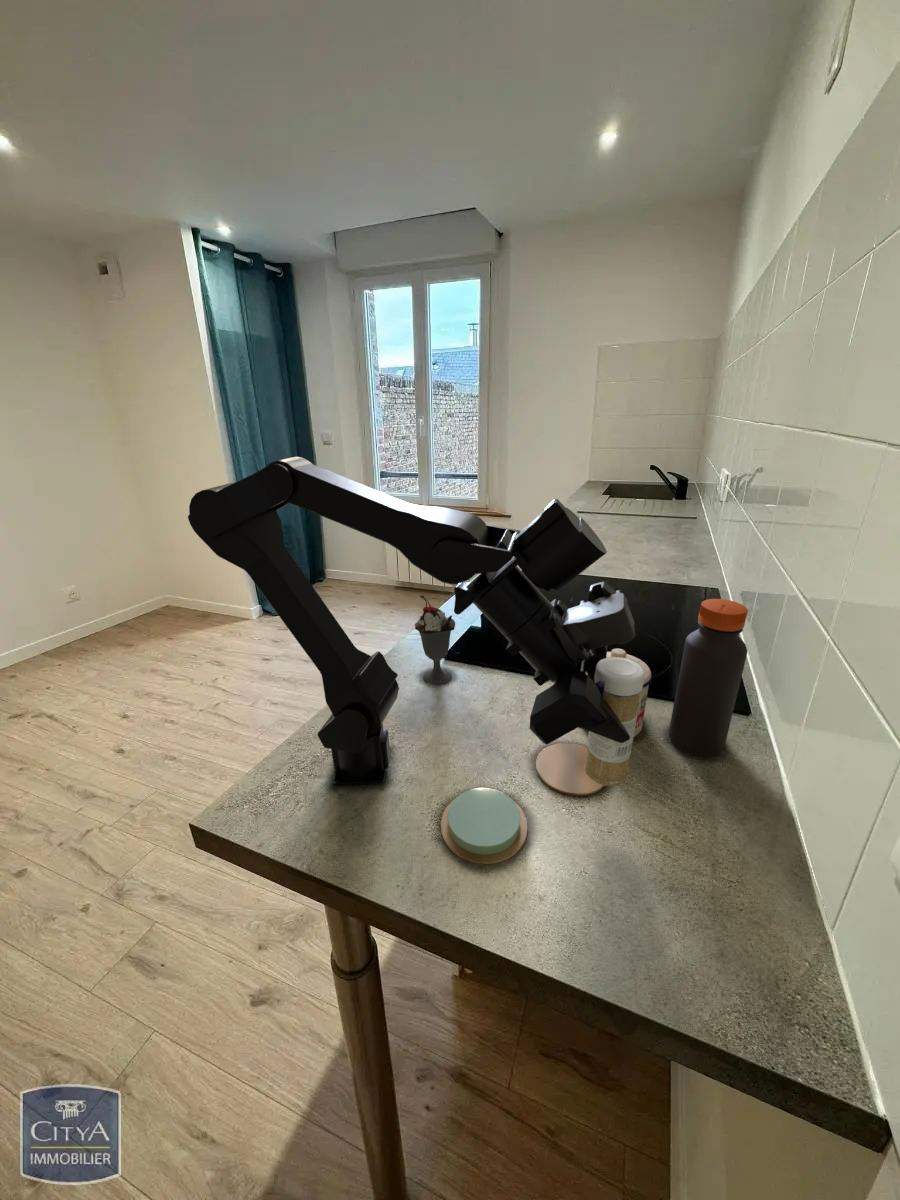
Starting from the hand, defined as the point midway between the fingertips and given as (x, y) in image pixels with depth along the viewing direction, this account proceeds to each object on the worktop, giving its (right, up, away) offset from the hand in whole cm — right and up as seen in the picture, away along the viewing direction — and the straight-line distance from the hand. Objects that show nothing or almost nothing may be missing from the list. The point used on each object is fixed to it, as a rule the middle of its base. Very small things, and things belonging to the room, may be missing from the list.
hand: (625, 726), depth 49 cm
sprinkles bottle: (-1, -6, +3) cm, 7 cm away
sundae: (-20, 0, +32) cm, 38 cm away
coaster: (-3, -8, +11) cm, 14 cm away
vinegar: (+15, -6, +16) cm, 23 cm away
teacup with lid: (+6, -4, +21) cm, 22 cm away
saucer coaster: (-14, -12, +4) cm, 19 cm away
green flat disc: (-14, -12, +4) cm, 19 cm away
